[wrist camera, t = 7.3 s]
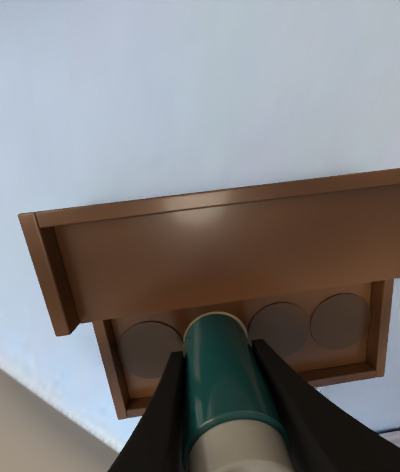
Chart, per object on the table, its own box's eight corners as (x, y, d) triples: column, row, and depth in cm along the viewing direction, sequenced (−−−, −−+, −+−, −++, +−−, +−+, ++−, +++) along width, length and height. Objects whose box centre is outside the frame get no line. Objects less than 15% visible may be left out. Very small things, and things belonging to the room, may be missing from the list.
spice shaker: (247, 361, 12) (311, 537, 6) (188, 371, 12) (189, 560, 6) (243, 308, 12) (311, 446, 5) (179, 317, 11) (171, 471, 5)
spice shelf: (350, 345, 15) (431, 420, 10) (130, 379, 15) (100, 478, 9) (359, 173, 12) (477, 158, 7) (89, 206, 12) (15, 214, 7)
